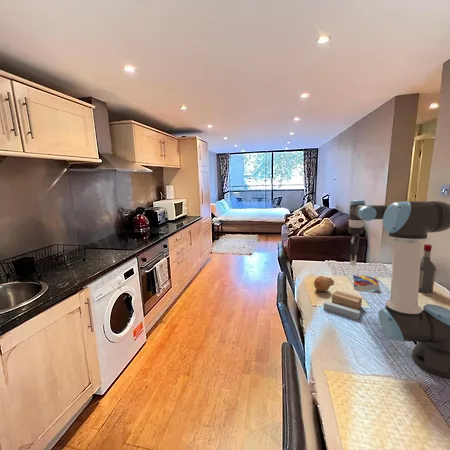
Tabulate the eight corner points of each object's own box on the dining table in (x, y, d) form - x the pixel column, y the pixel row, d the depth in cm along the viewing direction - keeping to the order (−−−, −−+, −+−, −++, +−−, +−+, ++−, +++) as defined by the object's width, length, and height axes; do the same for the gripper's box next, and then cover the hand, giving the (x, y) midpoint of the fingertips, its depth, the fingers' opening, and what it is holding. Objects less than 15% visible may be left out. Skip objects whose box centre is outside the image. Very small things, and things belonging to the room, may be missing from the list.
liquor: (417, 292, 156) (423, 246, 150) (410, 286, 165) (415, 242, 159) (434, 293, 154) (441, 247, 148) (426, 287, 162) (432, 243, 157)
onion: (327, 295, 156) (328, 280, 154) (311, 291, 162) (312, 277, 160) (331, 289, 163) (332, 275, 161) (316, 286, 169) (316, 272, 167)
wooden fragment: (325, 292, 161) (325, 290, 160) (309, 287, 168) (309, 286, 168) (339, 279, 179) (339, 278, 179) (323, 276, 187) (323, 274, 186)
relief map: (381, 294, 156) (381, 291, 155) (354, 290, 162) (354, 287, 162) (376, 279, 178) (376, 276, 178) (353, 276, 185) (353, 273, 184)
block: (356, 312, 136) (357, 302, 135) (331, 303, 146) (332, 294, 145) (361, 307, 141) (362, 297, 140) (336, 299, 151) (337, 290, 150)
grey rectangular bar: (358, 319, 129) (358, 313, 128) (323, 308, 140) (323, 303, 140) (359, 317, 131) (360, 311, 131) (325, 306, 143) (325, 301, 142)
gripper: (360, 229, 135) (357, 269, 140) (365, 225, 145) (362, 263, 150) (345, 227, 140) (343, 266, 145) (351, 223, 150) (349, 260, 154)
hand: (353, 265), depth 147 cm, fingers closed
